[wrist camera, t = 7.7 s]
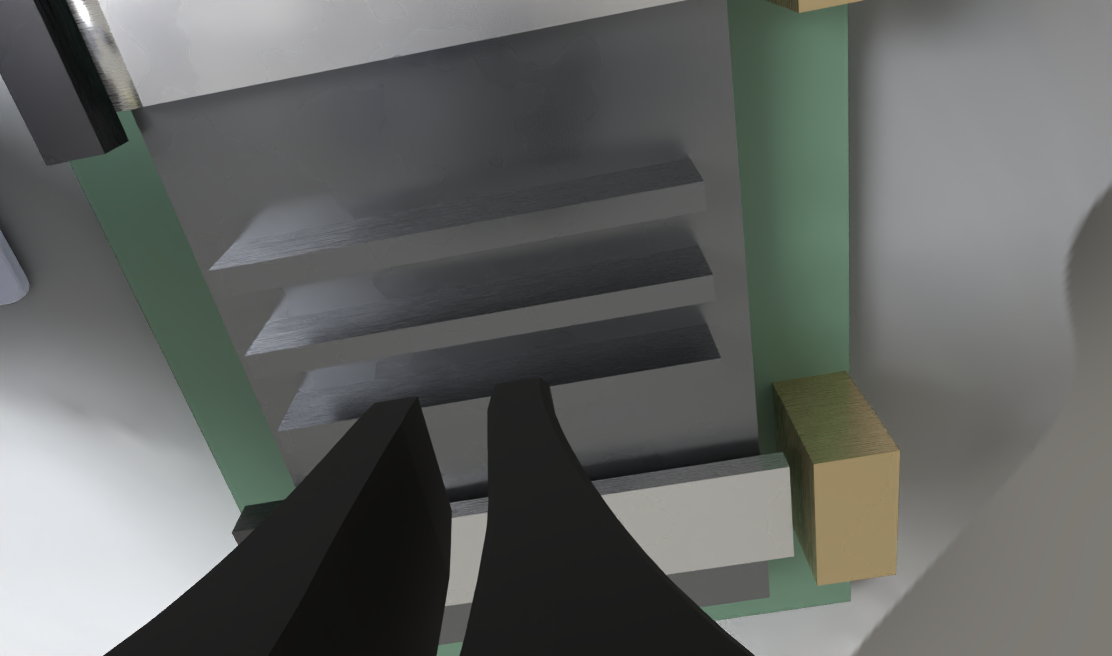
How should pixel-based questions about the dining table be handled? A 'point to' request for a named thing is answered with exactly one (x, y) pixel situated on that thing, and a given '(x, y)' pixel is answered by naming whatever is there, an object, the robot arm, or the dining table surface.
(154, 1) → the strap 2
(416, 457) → the robot arm
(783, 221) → the circuit board
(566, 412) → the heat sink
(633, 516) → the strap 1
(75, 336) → the dining table surface
